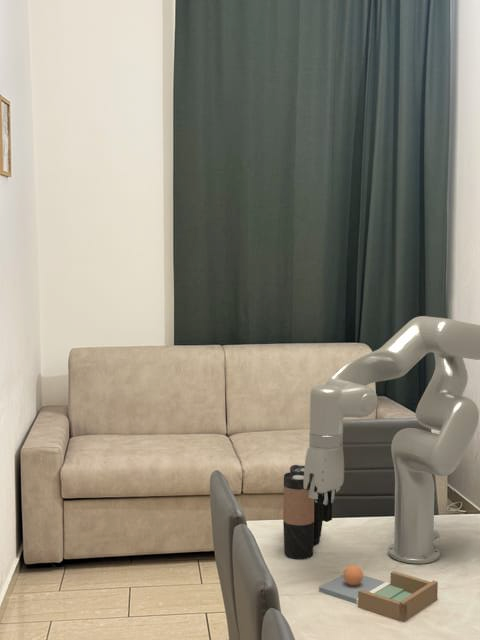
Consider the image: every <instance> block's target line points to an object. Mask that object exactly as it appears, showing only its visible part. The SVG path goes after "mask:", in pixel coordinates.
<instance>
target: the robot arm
mask: <svg viewBox="0 0 480 640" xmlns="http://www.w3.org/2000/svg"><path fill="white" fill-rule="evenodd" d="M429 353H433V355H434V359H435V360H434V361H435V369H434V371H433V373H432V374H433V375H432V377H431V379H430V381H429V382H428V385H427V387H426V388H425V390H424V392H423V394H422V395H421V398H420V400H419V401H418V404H417V407H416V409H415V419H416V421H417V422H418V423H419V424H420V425H421V426H423V427H425V428H427V429H429V430H433V431H439V434H438V433H435V432H431V431H428V430H425V429H421V428H417V427H415V428H414V427H405V428H403V429H401V430H398V431H397V432H396V433H395V435H394V436H393V439H392V441H391V445H390V447H391V448H390V450H391V457H392V462H393V467H394V531H393V532H394V534H393V535H394V536H393V538H394V539H393V543H391V544H390V545H389V546H388V547H387V554H388V556H389V557H391V558H392V559H394V560H395V561H398V562H403V563H406V564H407V563H408V564H429V563H433V562H436V561H437V560H438V559H439V558H440V555H441V554H440V553H441V552H440V550H439V548H437V547H436V546H434V542H435V541H436V540H437V539H439V538H440V533H439V532H438V531H436V530H435V528H434V527H435V525H434V524H435V522H434V521H435V489H436V488H435V482H434V481H435V480H434V476H439V477H446V476H449V475H451V474H452V473H453V472H455V470H456V469H457V468H458V466H459V464H460V463H461V460H462V459H463V457H464V455H465V453H466V451H467V449H468V447H469V445H470V443H471V441H472V439H473V437H474V436H475V432H476V430H477V428H478V424H479V419H480V416H479V415H480V413H479V408H478V405H477V404H476V402H475V401H474V400H472V399H471V398H469V397H466V396H463V394H464V392H465V390H466V389H467V388H466V387H467V385H468V380H469V377H468V371H467V367H466V364H465V361H464V359H470V360H476V361H479V360H480V324H478V323H477V324H475V323H471V322H466V321H465V322H464V321H459V320H456V319H452V318H444V317H436V316H435V317H434V316H428V315H422V316H421V315H420V316H416V317H413V318H412V319H411V320H409V321H408V322H407V323H406V324H404V326H402V328H401V329H399V330H398V331H397V332H396V333H395V334H394V335H393V336H392V337H391V338H390V339H388V340H387V341H386V342H385V343H384V344H383V345H382V346H381V347H380V348H378V349H376V350H373V351H372V352H369V353H367V354H366V353H365V354H364V355H363V356H360V357H358V358H355V359H354V360H351V361H349V362H348V363H346V364H345V365H344V366H342V367H340V368H339V369H338V370H337V371H336V372H335V373H334V374H333V375H332V376H331V377H330V378H329V379H328V380H327V381H326V382H325V383H324V385H316V386H313V387H312V388H311V391H310V392H309V393H310V394H309V395H310V396H309V398H310V399H309V400H310V401H309V432H308V433H309V435H308V436H309V437H308V439H309V440H308V447H307V450H306V455H305V461H304V466H305V468H304V489H305V490H310V491H309V498H311V499H315V502H316V503H317V517H316V518H317V519H318V520H321V521H323V522H326V523H327V522H328V523H329V522H331V521H332V520H333V503H334V501H335V495H336V493H337V492H339V491H340V490H341V487H342V486H343V484H344V480H345V460H344V459H345V458H344V457H345V456H344V449H343V447H344V446H343V442H344V441H343V439H344V418H364V417H368V416H370V415H372V414H373V413H374V412H375V410H376V409H377V407H378V404H379V399H378V395H377V393H376V391H374V389H373V388H371V387H370V386H367V385H370V384H374V383H378V382H384V381H389V380H395V379H398V378H401V377H403V376H405V375H406V374H408V372H409V371H410V370H411V369H413V367H414V366H415V365H417V363H419V361H421V360H422V359H423V358H424V357H425V356H426V355H427V354H429ZM433 475H434V476H433Z"/></svg>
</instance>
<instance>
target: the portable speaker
mask: <svg viewBox="0 0 480 640" xmlns="http://www.w3.org/2000/svg"><path fill="white" fill-rule="evenodd" d="M304 468H305V465H298V464H293V465H291V466H290V467H289V471H290V473H291V474H297V473H299V472H304ZM316 517H317V503H316V502H315V499H314V540H313V547H315V546H317V545H319V544H320V540H321V539H320V538H321V536H322V530H323V523H324V521H321V520H318V519H317V518H316Z"/></svg>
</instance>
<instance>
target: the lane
mask: <svg viewBox="0 0 480 640" xmlns="http://www.w3.org/2000/svg"><path fill="white" fill-rule="evenodd" d="M438 586H439V582H438V581H437V580H432V581H430V580H425V579H422V578H419V577H415V576H411V575H408V574H405V573H402V572H398V571H394V570H393V571H390V582H387V581H384V580H381V579H377V578H374V577H370V576H367V575H365V574H363V579H362V581H361V582H360V583H359V584H358V585H349V584H348V583H347V582H346V581H345V580H344V577H343V574H341V575H339V576H337V577H336V578H333V579H332V580H330V581H328V582H326V583H324V584H322V585H320V586H319V587H318V591H319V592H320V593H323V594H326V595H329V596H332V597H335V598H338V599H342V600H343V601H348V602H351V603H354V604H357V607H358V608H360V609H363V610H366V611H369V612H372V613H376V614H378V615H381V616H385V617H387V618H390V619H393V620H397V621H400V622H402V623H404V622H406V621H407V620H409V619H410V618H412V617H413V616H415V615H417V614H418V613H419V612H421V611H422V610H424V609H425V608H426V607H428V606H430V605H432V604H433V603H434V602H436V601H437V600H438V591H439V590H438V588H439V587H438Z"/></svg>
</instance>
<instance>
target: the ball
mask: <svg viewBox="0 0 480 640" xmlns="http://www.w3.org/2000/svg"><path fill="white" fill-rule="evenodd" d="M342 575H343V577H344V580H345V581H346V582H347V583H348V584H349V585H358V584H359V583H360V582H361V581H362V579H363V575H364V572H363V570H362V568H361V567H359V566H358V565H356V564H351V565H348V566H346V567H345V568H344V570H343V574H342Z"/></svg>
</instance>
